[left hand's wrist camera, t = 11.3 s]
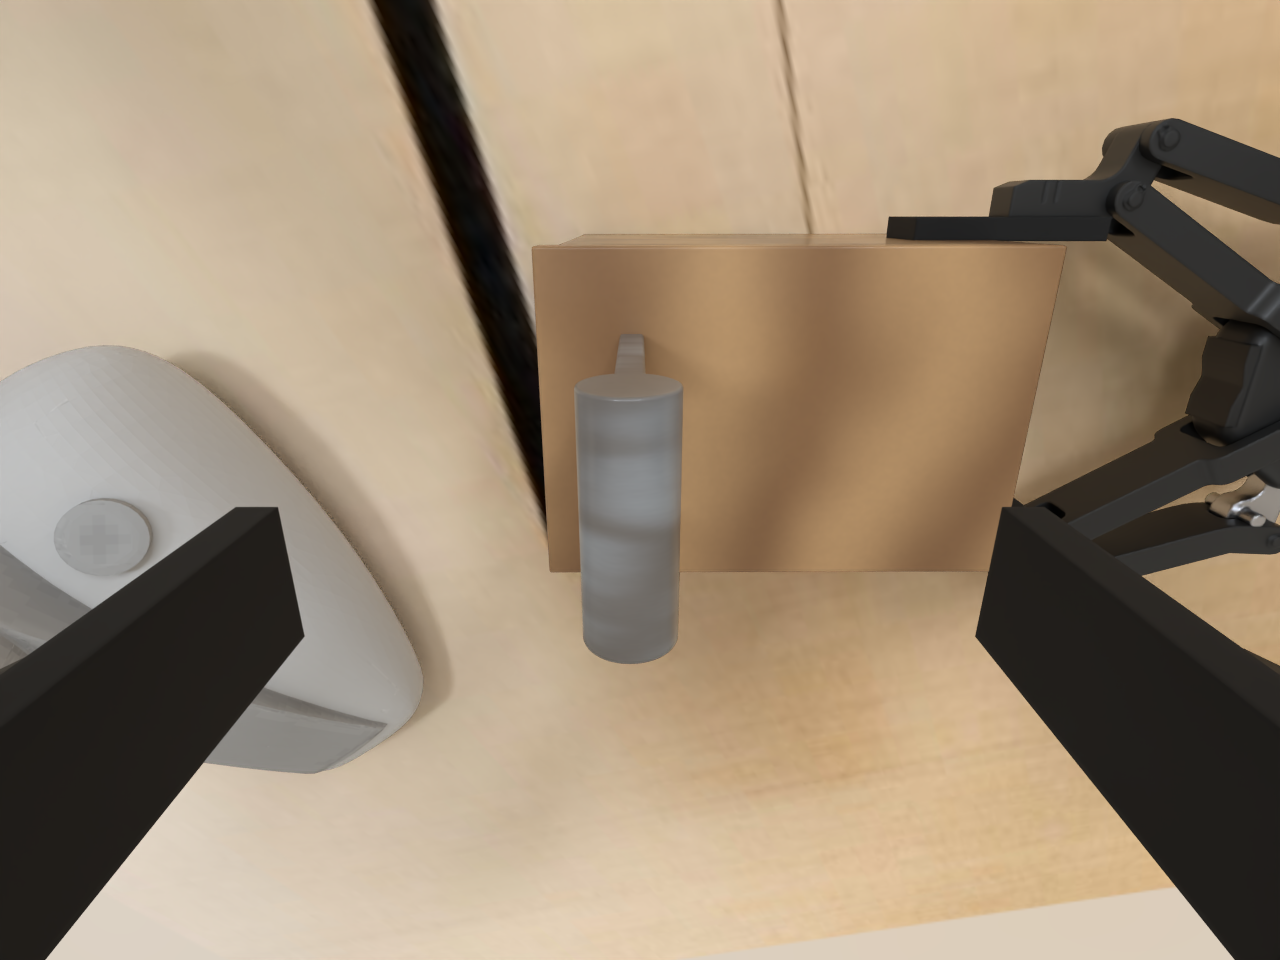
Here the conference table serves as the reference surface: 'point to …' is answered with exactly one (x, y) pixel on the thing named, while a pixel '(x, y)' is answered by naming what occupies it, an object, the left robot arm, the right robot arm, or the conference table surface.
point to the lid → (778, 413)
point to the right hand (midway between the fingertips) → (880, 382)
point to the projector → (169, 517)
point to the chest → (761, 239)
